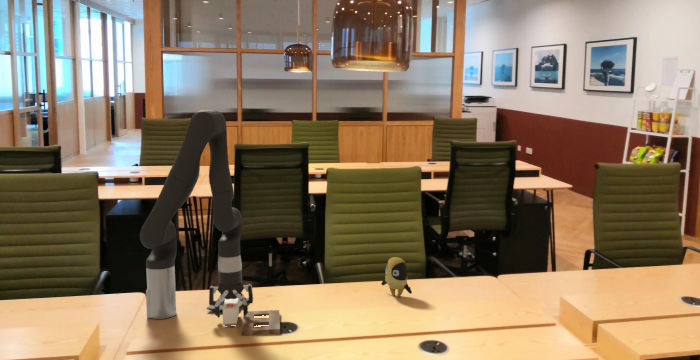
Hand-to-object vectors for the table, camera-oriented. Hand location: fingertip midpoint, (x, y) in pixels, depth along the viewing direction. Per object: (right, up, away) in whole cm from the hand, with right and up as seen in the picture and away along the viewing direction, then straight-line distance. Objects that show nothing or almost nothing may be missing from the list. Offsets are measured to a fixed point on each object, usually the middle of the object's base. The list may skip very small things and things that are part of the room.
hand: (231, 316), depth 200 cm
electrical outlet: (-4, -1, +15) cm, 16 cm away
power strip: (0, -2, 0) cm, 2 cm away
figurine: (+57, +1, +27) cm, 63 cm away
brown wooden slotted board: (+10, -2, -2) cm, 11 cm away
